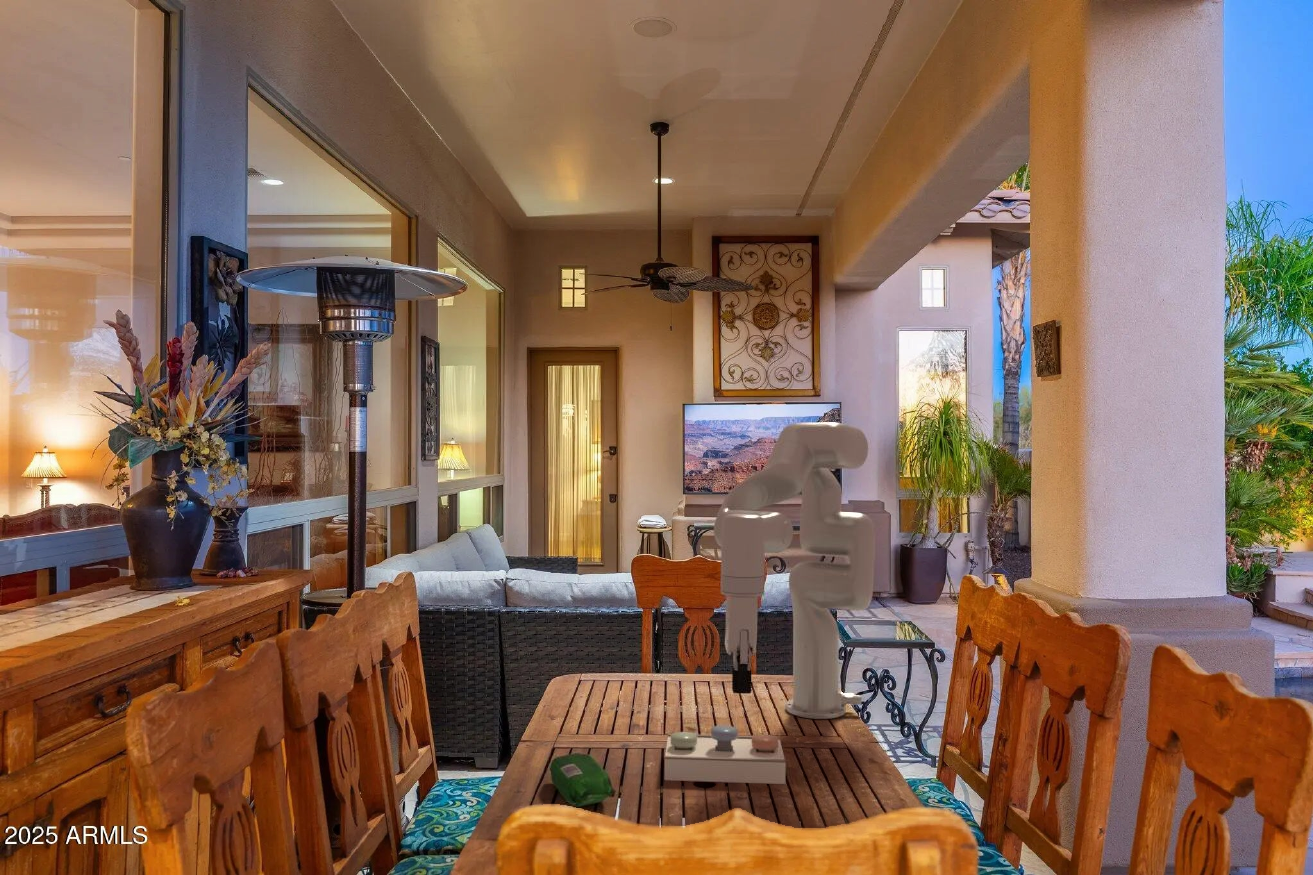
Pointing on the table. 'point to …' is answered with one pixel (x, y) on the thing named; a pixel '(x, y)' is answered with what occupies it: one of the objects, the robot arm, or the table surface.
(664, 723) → the table surface
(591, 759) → the snack package
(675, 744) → the sage button
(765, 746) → the terracotta button
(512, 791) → the table surface
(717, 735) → the slate button
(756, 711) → the table surface
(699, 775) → the console
